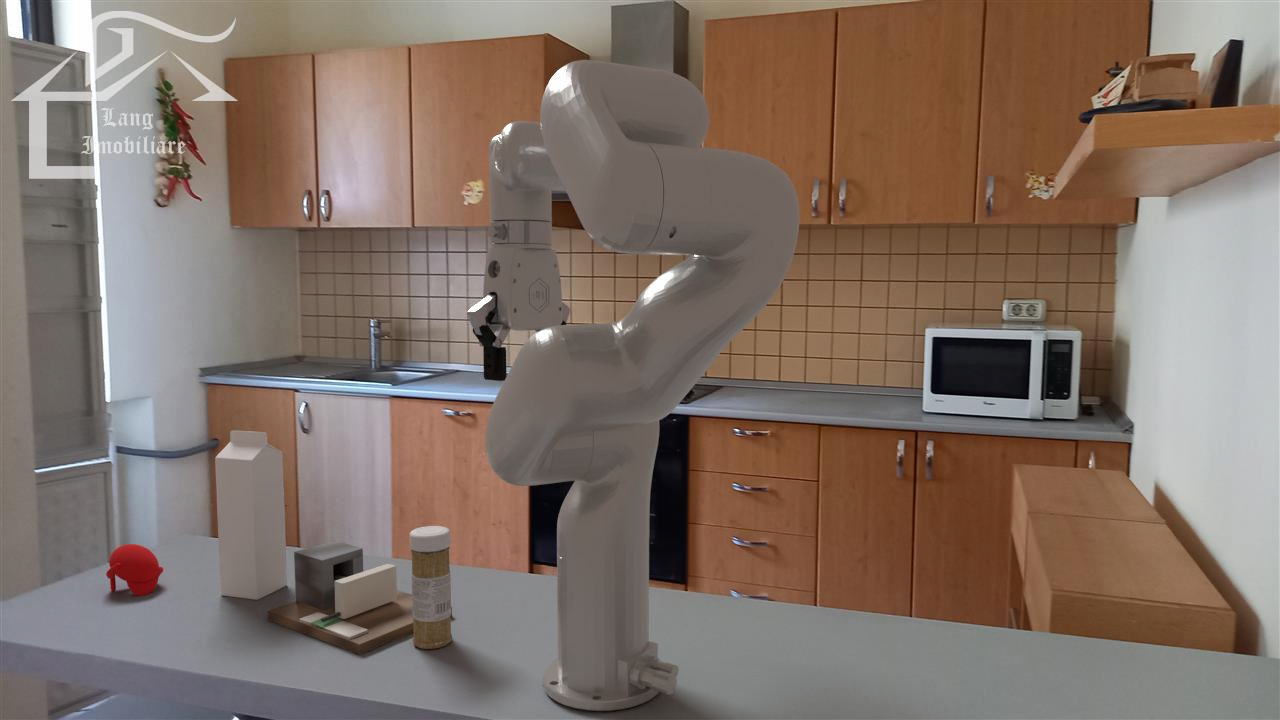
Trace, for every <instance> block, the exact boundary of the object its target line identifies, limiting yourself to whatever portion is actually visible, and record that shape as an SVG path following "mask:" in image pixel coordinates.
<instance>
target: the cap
mask: <svg viewBox="0 0 1280 720" xmlns="http://www.w3.org/2000/svg"><path fill="white" fill-rule="evenodd" d="M108 562H109V564H108V565H109V569H108V570H106V573H105V575H106V578H108V579H109V583H110V591H111V592H114V591H116V589H117V583H116V582H117V581H116V577H118V578H119V579H120V580H122V581H125V582H126V584H127V587H128V589H129V590H130V592H132V593H133V594H134V595H135V596H139V597H143V596H144V597H145V596H147V595H150V594H151V593H152V592H153V591H154V590H155V589H156V587H157V585H158V581H159V577H161V575H162V573H163V572H164V568H163V567H162V566H160V564H159V560H158V558H157V557H156V555H155V554H154V552H153V551H151V550H150V549H149V548H147V547H145V546H144V545H143V546H142V545H140V544H135V543H129V544H127V543H126V544H123V545H120V546H119V547H116V548H115V549H114V550H113V551H112V553H111V554H110V556H109V560H108Z"/></svg>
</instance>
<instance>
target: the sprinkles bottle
mask: <svg viewBox="0 0 1280 720" xmlns="http://www.w3.org/2000/svg"><path fill="white" fill-rule="evenodd" d="M450 546H451V531H450V529H449V528H448V527H445V526H439V525H428V526H422V527H417V528H415V529H413V530H411V531H410V532H409V548H410V552H411V594H412V610H413V625H414V632H413V639H412V643H413V645H414V646H415V647H417V648H419V649H426V650H433V649H439V648H443V647H446V645H448V644H450V643H451V642H452V639H453V635H452V622H451V617H452V616H451V617H450V615H451V607H452V591H451V590H452V587H451V586H452V585H451V582H452V581H451V580H452V579H451V569H450V548H451V547H450Z"/></svg>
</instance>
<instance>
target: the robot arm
mask: <svg viewBox="0 0 1280 720" xmlns="http://www.w3.org/2000/svg"><path fill="white" fill-rule="evenodd" d="M706 101H707V100H706V99H705V97H704V95H703V94H702V92H701V91H700V90H699V88H697V86H696V85H695V84H694V83H693V82H691V81H690V80H689V79H687V78H686V77H684V76H681V75H680V74H677V73H675V72H671V71H669V70H665V69H660V68H652V67H644V66H637V65H632V64H631V65H630V64H624V63H616V62H608V61H601V60H594V59H593V60H592V59H589V60H588V59H579V60H573V61H571V62H569V63H567V64H565V65H563V66H562V67H560V68H559V69H558V70H557V71H556V72H555V73H554V74H553V75H552V77H551V78H550V80H549V81H548V84H547V85H546V87H545V90H544V93H543V94H542V98H541V104H540V112H539V113H540V115H539V121H540V122H539V121H529V120H518V121H513V122H510V123H508V124H507V125H506V126H504V128H502V130H501V133H500V134H498V135H495V136H494V137H493V138H492V139H491V140H490V143H489V146H488V169H489V170H488V172H489V173H488V174H489V175H488V177H489V179H488V180H489V181H488V183H489V185H488V186H489V187H488V188H489V226H488V227H487V232H486V233H487V235H488V237H489V243H490V244H489V247H490V248H487V254H486V259H485V266H484V274H483V275H484V277H483V291H482V300H481V301H479V302H477V304H475V305H473V306H472V307H471V308H470V309H469V310H468V311H467V312H466V313H467V317H468V318H467V319H468V320H469V323H470V325H471V327H472V333H473V334H474V336H475V337H476V339H477V340H478V345H479V346H480V347H483V349H482V351H483V379H484V380H486V381H496V382H497V381H498V382H502V381H503V383H502V384H501V387H500V388H499V391H498V393H497V394H496V397H495V398H494V401H493V404H492V405H491V408H490V412H489V414H488V418H487V421H486V427H485V433H484V434H485V435H484V438H485V439H484V442H485V443H484V444H485V445H484V446H485V453H486V457H487V461H488V463H489V465H490V468H491V469H492V471H493V472H494V473H495V475H496V476H497V477H498V478H499V479H500V480H502V481H503V482H505V483H507V484H509V485H513V486H516V487H517V486H518V487H519V486H520V487H528V486H529V487H530V486H539V485H540V486H541V485H549V484H556V483H557V484H558V483H563V482H564V483H565V482H573V483H572V485H571V487H570V489H569V491H568V492H567V495H566V496H565V498H564V500H563V502H562V504H561V507H560V509H559V513H558V517H557V523H556V569H557V570H556V573H557V574H556V575H557V576H556V583H557V584H556V585H557V586H556V587H557V588H556V589H557V590H556V592H557V593H556V594H557V602H556V603H557V607H556V608H557V609H556V610H557V658H556V659H555V660H553V661H551V662H550V664H549V665H547V666H546V667H545V670H544V671H543V674H542V675H543V676H542V682H543V683H542V685H543V686H542V687H543V689H544V691H545V693H546V695H548V697H550V698H551V699H553V700H554V701H556V702H557V703H559V704H560V705H561V704H562V705H563V706H566V707H569V708H574V709H578V710H584V711H591V712H592V711H595V712H610V711H618V710H625V709H629V708H633V707H637V706H639V705H642V704H645V703H647V702H648V701H650V700H652V699H653V698H654V697H656V696H657V695H658V694H659V693H662V694H665V695H669V696H670V695H672V694H673V693H674V691H675V690H676V688H677V677H678V675H679V666H678V665H677V664H675V663H674V664H673V663H670V662H666V661H661V660H660V658H659V656H658V654H659V652H658V651H659V649H658V647H659V644H658V643H657V642H653V641H650V509H651V508H650V507H651V506H650V503H651V489H652V480H653V472H654V467H655V461H656V458H657V457H656V456H657V451H658V447H659V439H660V438H659V437H660V420H663V419H664V418H666V417H667V416H668V415H670V414H671V413H672V412H673V411H674V410H675V409H676V408H677V407H678V406H679V404H680V403H681V402H682V401H683V400H684V399H685V397H686V395H688V393H690V391H691V390H692V389H693V388H694V387H695V385H696V384H697V383H698V381H699V380H700V379H701V378H702V376H704V374H705V373H706V372H707V371H708V369H709V368H710V367H711V366H712V365H713V363H714V362H715V360H716V359H717V358H718V356H719V355H720V354H721V353H722V351H723V350H724V349H725V348H726V347H727V346H728V345H729V344H730V343H731V342H732V341H733V340H734V339H735V338H736V337H737V336H738V335H739V334H740V333H741V332H742V331H743V330H744V329H745V328H746V327H747V326H748V325H749V324H750V323H751V322H752V321H753V320H755V318H756V317H757V316H758V315H759V314H760V313H761V312H762V311H763V310H764V308H765V307H767V305H768V304H769V302H770V301H771V300H772V299H773V297H774V296H775V294H776V293H777V291H778V290H779V289H780V287H781V285H782V283H783V282H784V281H785V278H786V275H787V274H788V271H789V269H790V267H791V264H792V262H793V258H794V256H795V251H796V247H797V243H798V238H799V231H800V230H799V229H800V217H801V216H800V215H801V214H800V213H801V212H800V203H799V197H798V194H797V190H796V188H795V186H794V184H793V182H792V179H791V178H790V177H789V176H788V175H787V173H786V171H784V170H783V169H782V168H780V167H779V166H778V165H776V164H775V163H773V162H772V161H770V160H767V159H765V158H763V157H761V156H757V155H753V154H750V153H747V152H742V151H737V150H733V149H732V150H731V149H723V148H714V147H713V148H712V147H702V145H703V143H704V140H705V139H706V137H707V135H708V132H709V127H710V126H709V125H710V112H709V111H710V110H709V107H708V105H707V104H708V103H707V102H706ZM552 191H553V192H554V191H555V192H566V194H567V196H568V198H569V201H570V202H571V204H572V207H573V209H574V210H575V213H576V215H577V217H578V219H579V221H580V223H581V226H582V227H583V229H584V230H585V232H586V233H587V235H588V236H589V237H590V239H591V240H592V241H593V242H595V243H596V244H597V245H598V246H600V247H601V248H603V249H605V250H607V251H610V252H615V253H620V254H629V255H630V254H631V255H669V256H670V255H672V256H689V257H687V258H686V259H684V260H682V261H681V262H680V263H678V264H676V265H675V266H673V267H671V268H669V269H667V270H666V271H665V272H664V273H662V274H660V275H659V276H658V277H656V278H655V279H654V280H653V281H651V282H650V283H649V285H648V286H647V287H646V288H645V289H644V290H643V291H642V292H641V294H640V295H639V296H638V298H637V300H635V303H634V304H633V306H632V308H631V309H630V311H629V312H628V313H627V314H626V315H625V316H624V317H622V318H621V319H620V320H618V321H612V322H604V323H603V322H602V323H587V324H586V323H583V324H568V323H567V322H568V319H569V316H570V313H571V309H570V308H571V307H570V306H568V305H566V304H565V303H564V302H563V293H562V282H561V280H562V279H561V272H560V266H559V261H558V256H557V251H556V249H553V242H552V241H553V234H552V233H553V231H552V229H553V228H552V226H553V225H552V224H553V221H552V220H553V218H552V217H553V216H552V213H553V211H552V210H553V209H552V203H553V202H552V201H553V200H552V197H553V196H552ZM511 330H512V331H519V332H520V331H521V332H523V331H525V332H526V331H535V333H534V334H533V335H531V336H530V337H529V338H528V339H527V340H526V341H525V342H524V343H523V344H522V346H521V348H520V350H519V351H518V353H517V355H516V357H515V360H514V361H513V363H512V366H511V367H510V369H509V371H508V374H507V347H506V346H505V347H504V346H503V344H504V343H505V340H506V339H507V336H508V335H509V333H510V331H511Z"/></svg>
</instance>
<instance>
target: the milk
mask: <svg viewBox="0 0 1280 720" xmlns="http://www.w3.org/2000/svg"><path fill="white" fill-rule="evenodd" d="M214 462H215V464H214V466H215V467H214V468H215V484H216V485H215V487H216V489H215V490H216V509H217V510H216V512H217V513H216V515H217V531H218V532H217V534H218V535H217V537H218V556H219V557H218V558H219V578H220V579H219V583H220V595H221V596H225V597H232V598H239V599H245V600H246V599H247V600H254V601H255V600H256V601H258V600H261V599H262V598H264V597H266V596H268V595H270V594H272V593H274V592H276V591H278V590H281V589H282V588H285V587H287V586H288V573H287V571H288V568H287V567H288V566H287V546H286V545H287V544H286V516H285V489H284V485H285V483H284V461H283V451H281V450H280V449H277V448H276V447H274V446H273V445H271V444H269V443H268V434H267V432H266V431H264V432H262V431H250V430H248V431H246V430H230V432H229V442H228V444H227V445H226V446H225V447H223V449H222V450H221V451H220V452H219V453H218V454H217V455H216V456H215V457H214Z"/></svg>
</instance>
